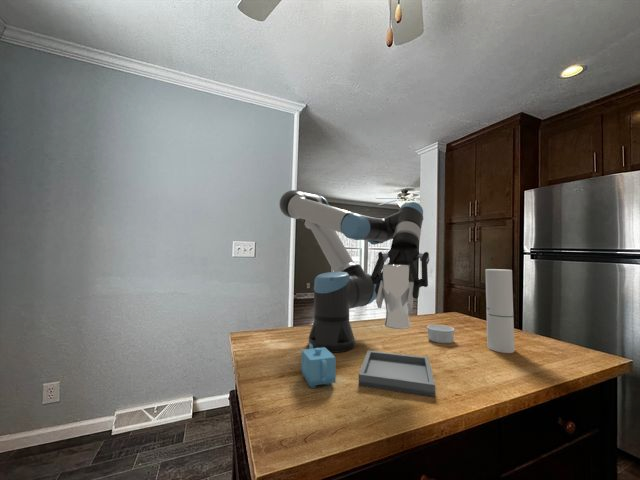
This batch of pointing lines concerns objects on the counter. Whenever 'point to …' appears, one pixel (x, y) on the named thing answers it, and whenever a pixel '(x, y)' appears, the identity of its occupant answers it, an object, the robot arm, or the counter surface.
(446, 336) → the ramekin
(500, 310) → the cylindrical container
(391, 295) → the beer glass
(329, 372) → the teapot
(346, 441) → the counter surface
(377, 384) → the tray
